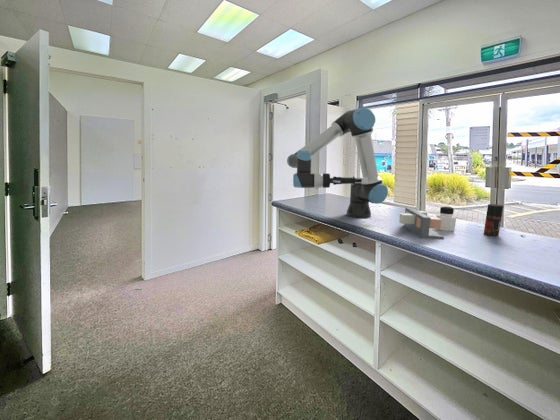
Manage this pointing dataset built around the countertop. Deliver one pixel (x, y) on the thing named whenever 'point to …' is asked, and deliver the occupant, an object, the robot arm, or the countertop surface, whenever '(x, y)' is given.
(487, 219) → the deodorant
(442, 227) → the medicine bottle
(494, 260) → the countertop surface
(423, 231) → the grey slotted block
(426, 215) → the sage key
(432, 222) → the terracotta key
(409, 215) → the cream key
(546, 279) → the countertop surface
